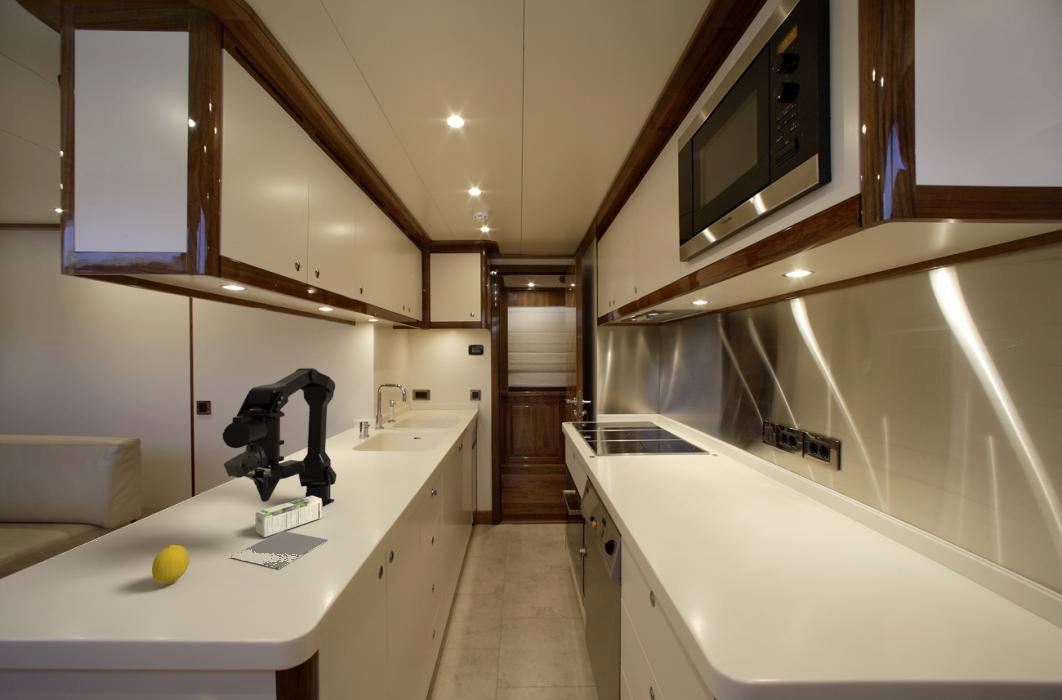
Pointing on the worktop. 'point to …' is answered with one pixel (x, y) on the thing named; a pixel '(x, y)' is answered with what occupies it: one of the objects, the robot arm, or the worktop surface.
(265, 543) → the mat
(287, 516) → the syrup box
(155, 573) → the lemon
